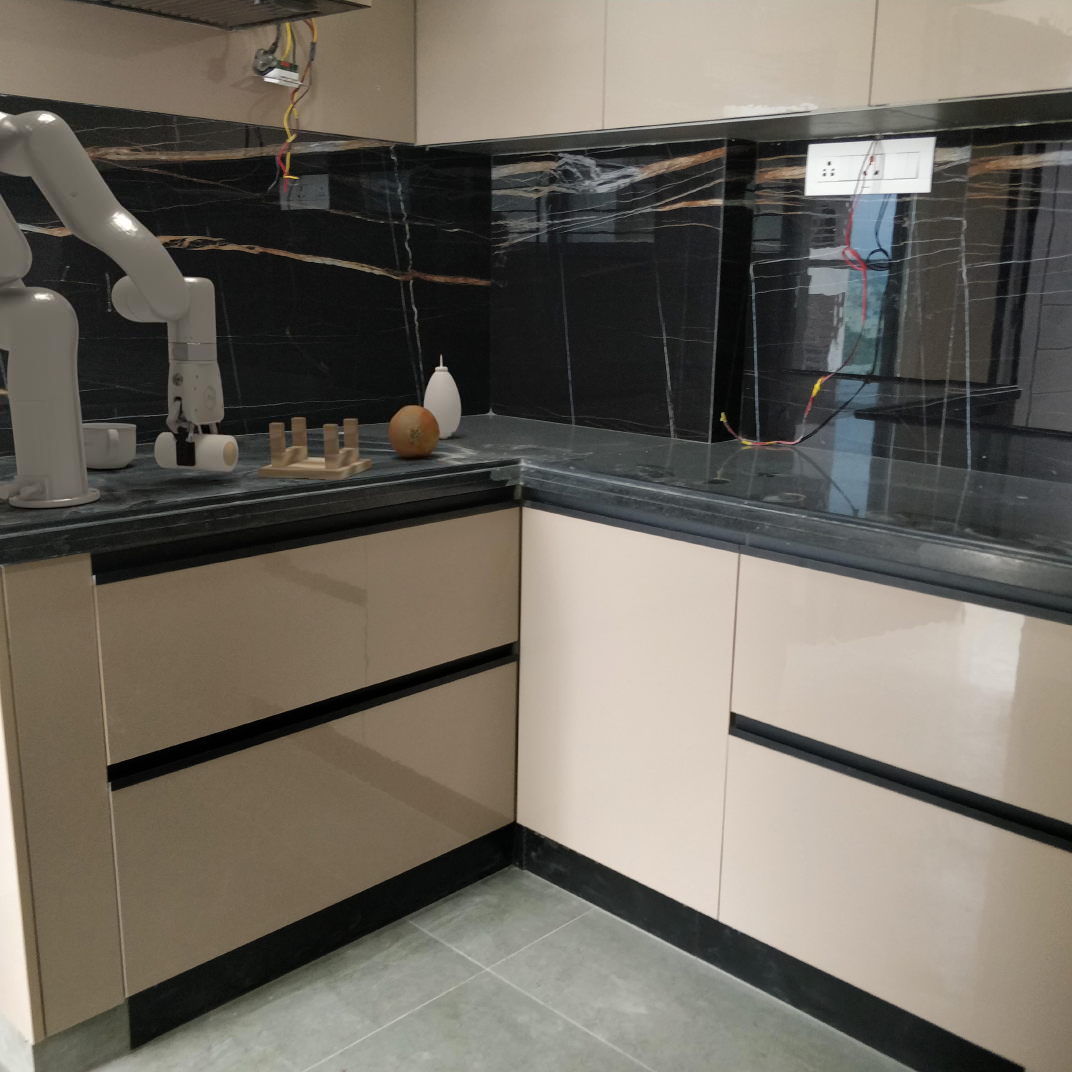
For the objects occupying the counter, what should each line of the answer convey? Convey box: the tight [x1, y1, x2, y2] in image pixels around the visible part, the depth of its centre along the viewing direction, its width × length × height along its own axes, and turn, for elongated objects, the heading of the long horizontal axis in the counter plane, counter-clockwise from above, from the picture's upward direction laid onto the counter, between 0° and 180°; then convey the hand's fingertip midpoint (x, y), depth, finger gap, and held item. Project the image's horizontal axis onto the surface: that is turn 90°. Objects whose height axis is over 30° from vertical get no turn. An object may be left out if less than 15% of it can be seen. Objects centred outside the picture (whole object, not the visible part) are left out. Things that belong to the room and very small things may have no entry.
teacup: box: [82, 422, 137, 470], centre depth 192 cm, size 14×11×8 cm
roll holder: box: [257, 416, 372, 481], centre depth 187 cm, size 14×15×9 cm
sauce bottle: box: [423, 354, 462, 440], centre depth 230 cm, size 8×8×18 cm
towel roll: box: [154, 431, 239, 473], centre depth 178 cm, size 6×12×6 cm, turn 76°
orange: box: [387, 405, 440, 459], centre depth 203 cm, size 10×10×10 cm
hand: (197, 462), depth 178 cm, fingers closed on towel roll, 6 cm apart
